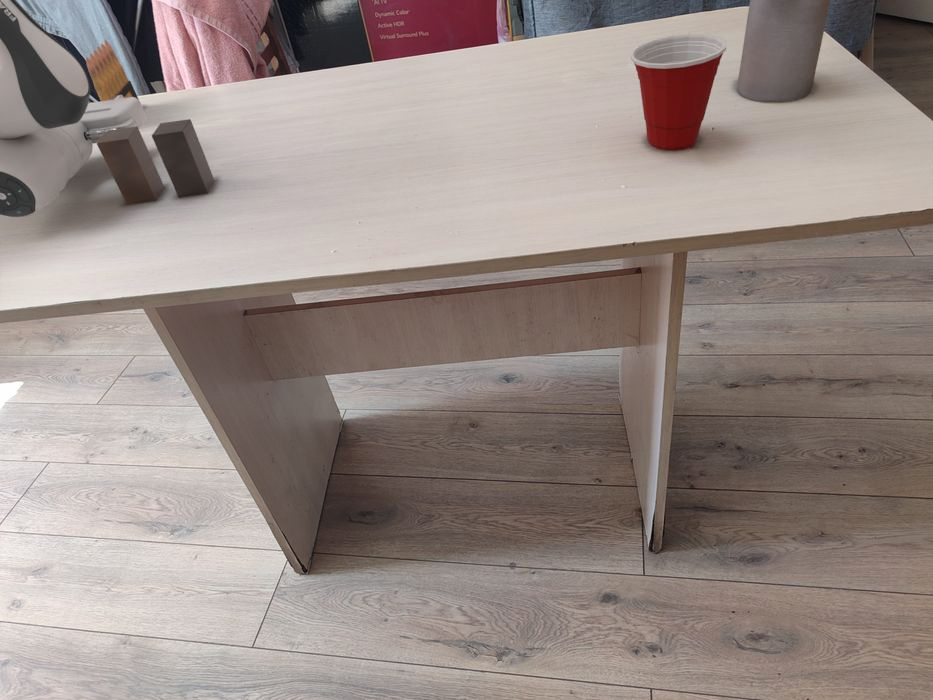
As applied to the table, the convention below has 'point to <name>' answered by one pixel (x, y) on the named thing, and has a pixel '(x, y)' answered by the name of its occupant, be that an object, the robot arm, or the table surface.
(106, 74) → the ammunition clip
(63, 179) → the robot arm
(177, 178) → the dark gray block
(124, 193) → the walnut block
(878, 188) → the table surface
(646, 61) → the plastic cup
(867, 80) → the table surface
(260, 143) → the table surface
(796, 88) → the pillar candle
